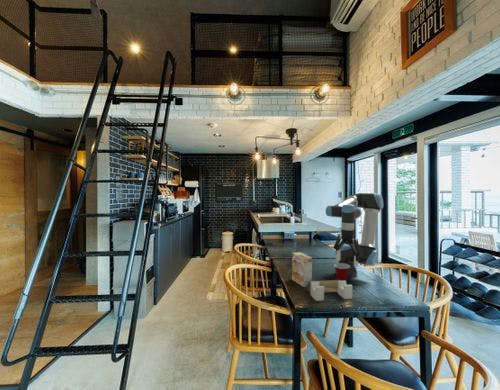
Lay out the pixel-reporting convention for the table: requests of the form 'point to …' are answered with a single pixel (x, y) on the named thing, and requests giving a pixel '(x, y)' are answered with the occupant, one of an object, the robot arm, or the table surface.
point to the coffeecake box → (301, 268)
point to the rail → (325, 285)
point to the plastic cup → (341, 271)
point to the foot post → (344, 290)
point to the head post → (317, 291)
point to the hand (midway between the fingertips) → (346, 263)
